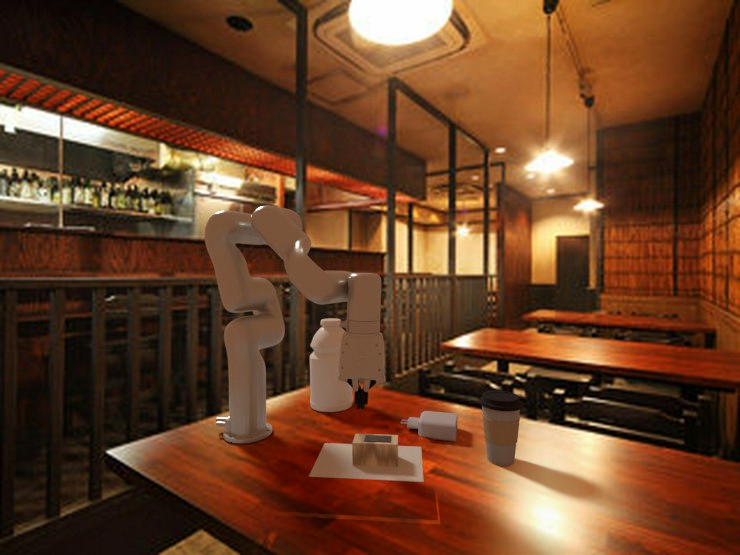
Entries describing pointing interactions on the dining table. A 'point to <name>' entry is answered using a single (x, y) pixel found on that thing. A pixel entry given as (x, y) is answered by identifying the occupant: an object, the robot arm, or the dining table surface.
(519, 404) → the coffee cup
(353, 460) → the maple block
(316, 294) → the robot arm
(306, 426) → the dining table surface
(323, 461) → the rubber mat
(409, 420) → the charger
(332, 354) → the bottle
